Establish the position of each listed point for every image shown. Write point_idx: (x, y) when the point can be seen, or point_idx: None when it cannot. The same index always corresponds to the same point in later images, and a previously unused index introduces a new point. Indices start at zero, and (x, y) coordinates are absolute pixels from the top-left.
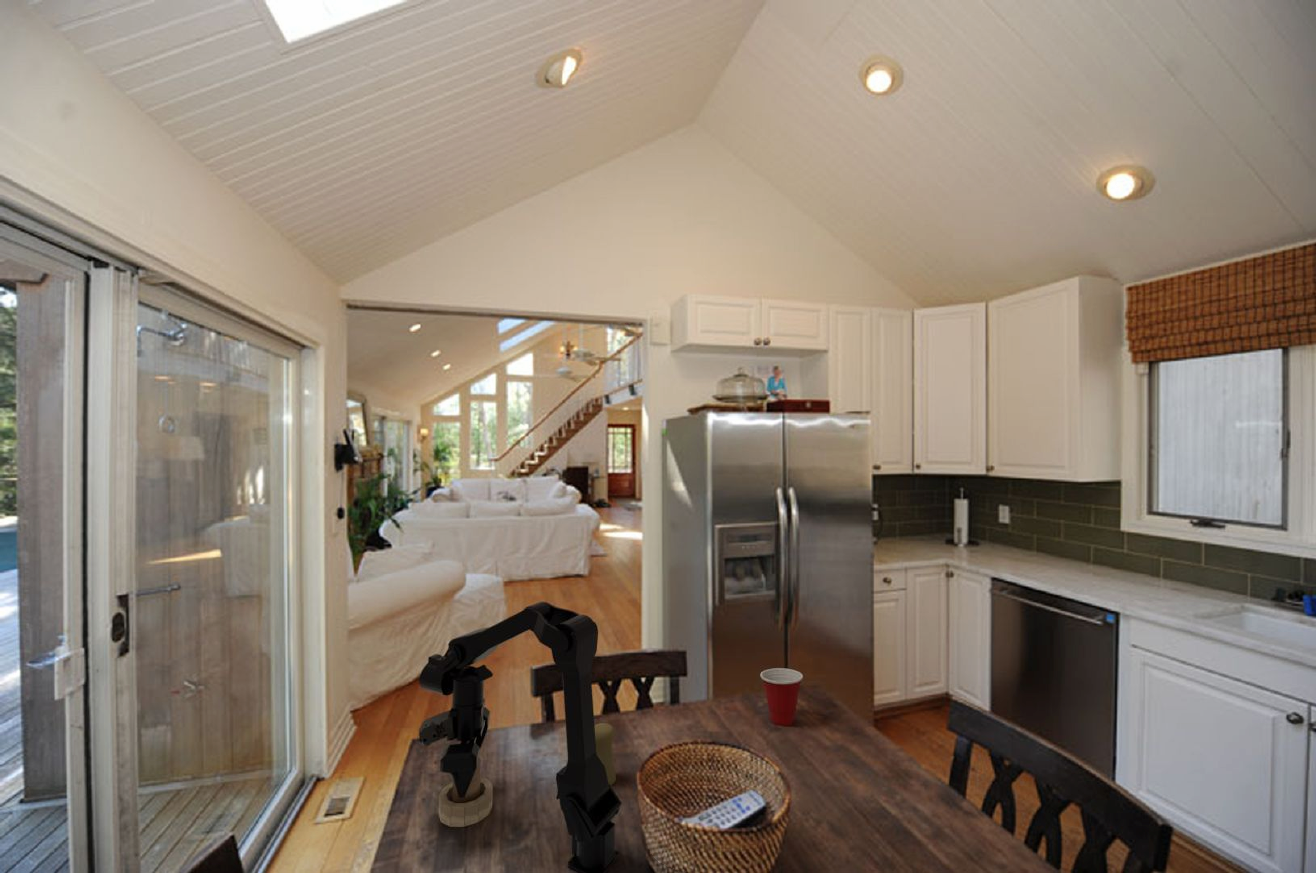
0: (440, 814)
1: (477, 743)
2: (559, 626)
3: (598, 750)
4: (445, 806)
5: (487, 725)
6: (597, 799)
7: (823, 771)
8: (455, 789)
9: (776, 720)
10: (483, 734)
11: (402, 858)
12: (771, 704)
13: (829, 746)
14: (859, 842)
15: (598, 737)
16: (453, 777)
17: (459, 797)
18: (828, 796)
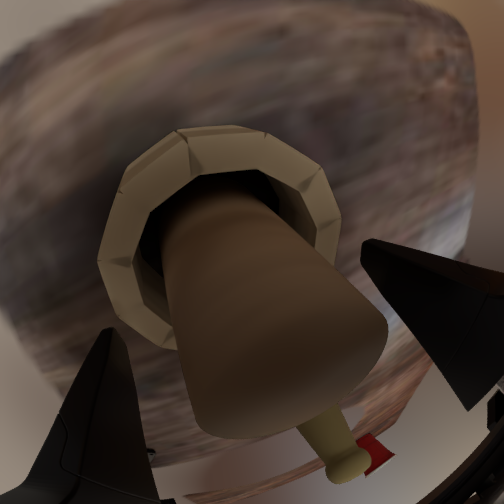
0: (140, 159)
1: (446, 349)
2: None
3: (325, 457)
4: (108, 218)
5: (488, 408)
6: None
7: (287, 475)
8: (176, 269)
9: (359, 443)
10: (463, 394)
11: None
12: (368, 451)
13: (317, 465)
14: (209, 498)
15: (333, 479)
16: (38, 458)
17: (105, 329)
18: (257, 485)
